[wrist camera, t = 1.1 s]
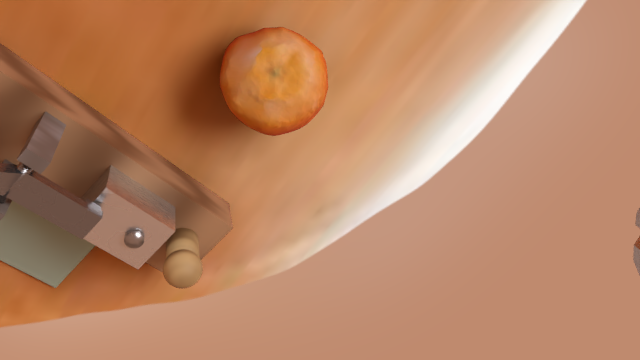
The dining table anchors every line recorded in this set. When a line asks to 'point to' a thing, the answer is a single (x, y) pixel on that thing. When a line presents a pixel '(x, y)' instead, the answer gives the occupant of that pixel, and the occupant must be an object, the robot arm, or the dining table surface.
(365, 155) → the dining table surface
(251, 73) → the fruit
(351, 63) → the dining table surface
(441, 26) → the dining table surface
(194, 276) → the brown lever base
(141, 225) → the box with chrome knob
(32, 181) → the lever
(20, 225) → the mat
